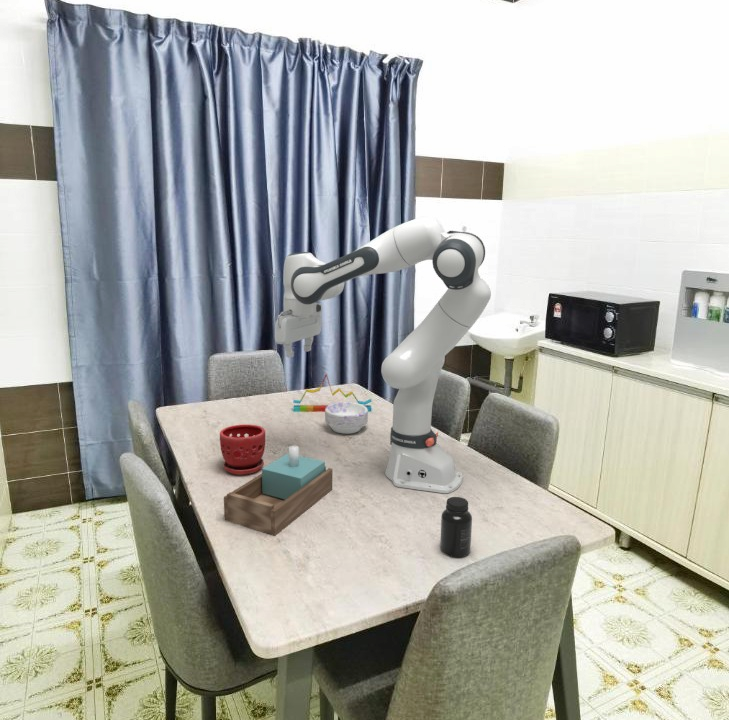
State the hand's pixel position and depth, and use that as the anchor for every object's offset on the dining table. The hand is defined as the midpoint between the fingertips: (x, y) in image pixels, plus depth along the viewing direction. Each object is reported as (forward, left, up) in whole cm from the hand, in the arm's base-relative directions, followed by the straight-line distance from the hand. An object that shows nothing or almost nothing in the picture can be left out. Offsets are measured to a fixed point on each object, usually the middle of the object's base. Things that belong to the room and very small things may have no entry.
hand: (298, 354), depth 169 cm
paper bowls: (-1, -29, -33) cm, 44 cm away
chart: (+14, -45, -34) cm, 58 cm away
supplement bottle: (-59, +27, -33) cm, 73 cm away
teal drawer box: (-13, +22, -31) cm, 40 cm away
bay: (-13, +28, -33) cm, 45 cm away
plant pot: (+10, +15, -33) cm, 38 cm away
